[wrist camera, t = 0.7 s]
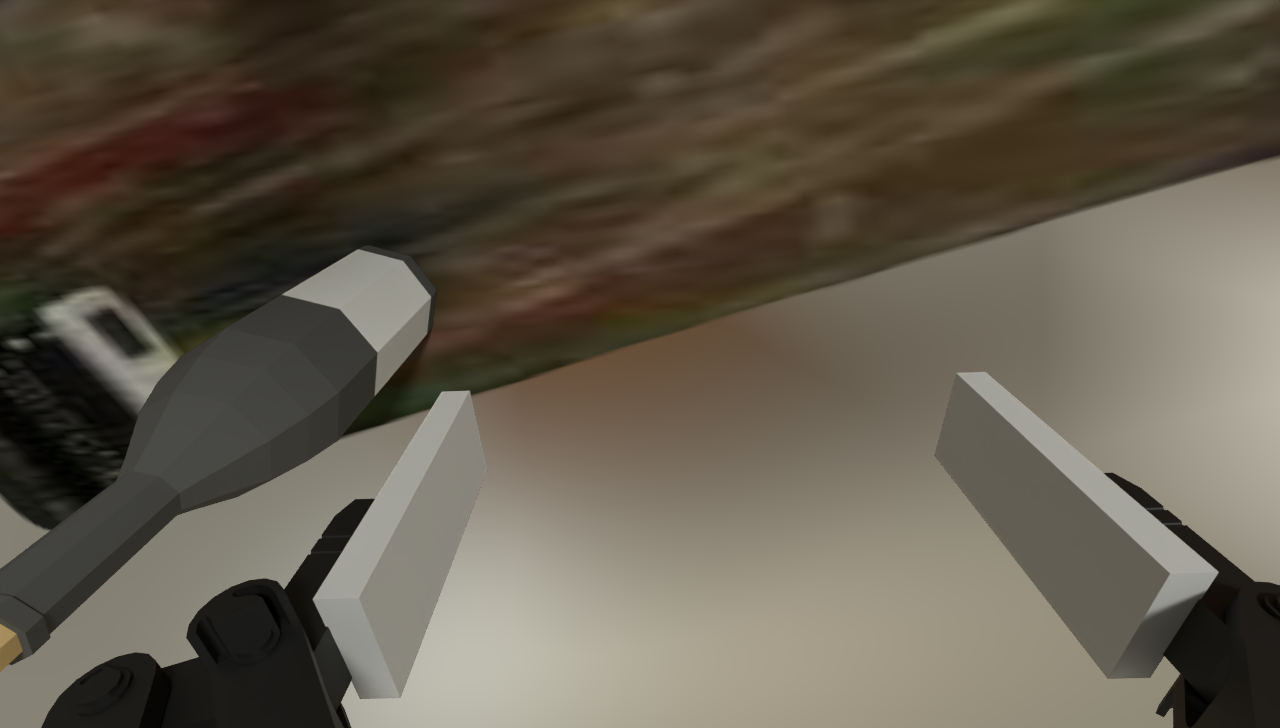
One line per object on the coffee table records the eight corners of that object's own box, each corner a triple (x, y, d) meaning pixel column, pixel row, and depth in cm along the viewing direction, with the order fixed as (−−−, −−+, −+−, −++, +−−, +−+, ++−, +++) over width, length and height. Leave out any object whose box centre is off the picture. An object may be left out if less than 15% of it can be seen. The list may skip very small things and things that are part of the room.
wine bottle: (452, 338, 43) (146, 758, 16) (353, 349, 43) (-103, 776, 17) (422, 236, 39) (-40, 566, 13) (314, 249, 40) (-355, 595, 13)
